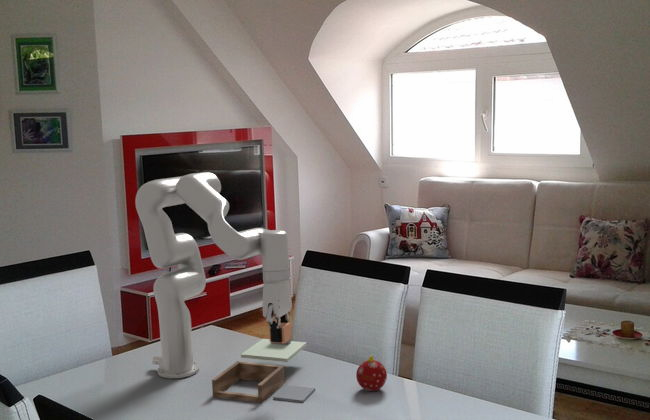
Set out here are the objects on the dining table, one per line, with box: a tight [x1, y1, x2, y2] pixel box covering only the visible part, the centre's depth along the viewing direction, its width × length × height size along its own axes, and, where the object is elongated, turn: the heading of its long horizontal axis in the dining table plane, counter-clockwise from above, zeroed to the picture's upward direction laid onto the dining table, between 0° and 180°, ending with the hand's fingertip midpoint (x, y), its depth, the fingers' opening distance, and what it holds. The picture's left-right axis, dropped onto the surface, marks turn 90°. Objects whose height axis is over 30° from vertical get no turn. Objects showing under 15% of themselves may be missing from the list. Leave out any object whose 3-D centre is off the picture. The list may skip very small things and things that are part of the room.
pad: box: [272, 384, 316, 403], centre depth 201 cm, size 9×9×1 cm
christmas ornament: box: [355, 355, 388, 392], centre depth 202 cm, size 9×9×10 cm
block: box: [268, 321, 292, 344], centre depth 199 cm, size 4×4×4 cm
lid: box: [240, 338, 308, 363], centre depth 221 cm, size 15×15×6 cm
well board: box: [211, 361, 286, 404], centre depth 205 cm, size 15×15×5 cm
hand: (280, 338), depth 200 cm, fingers closed on block, 4 cm apart
